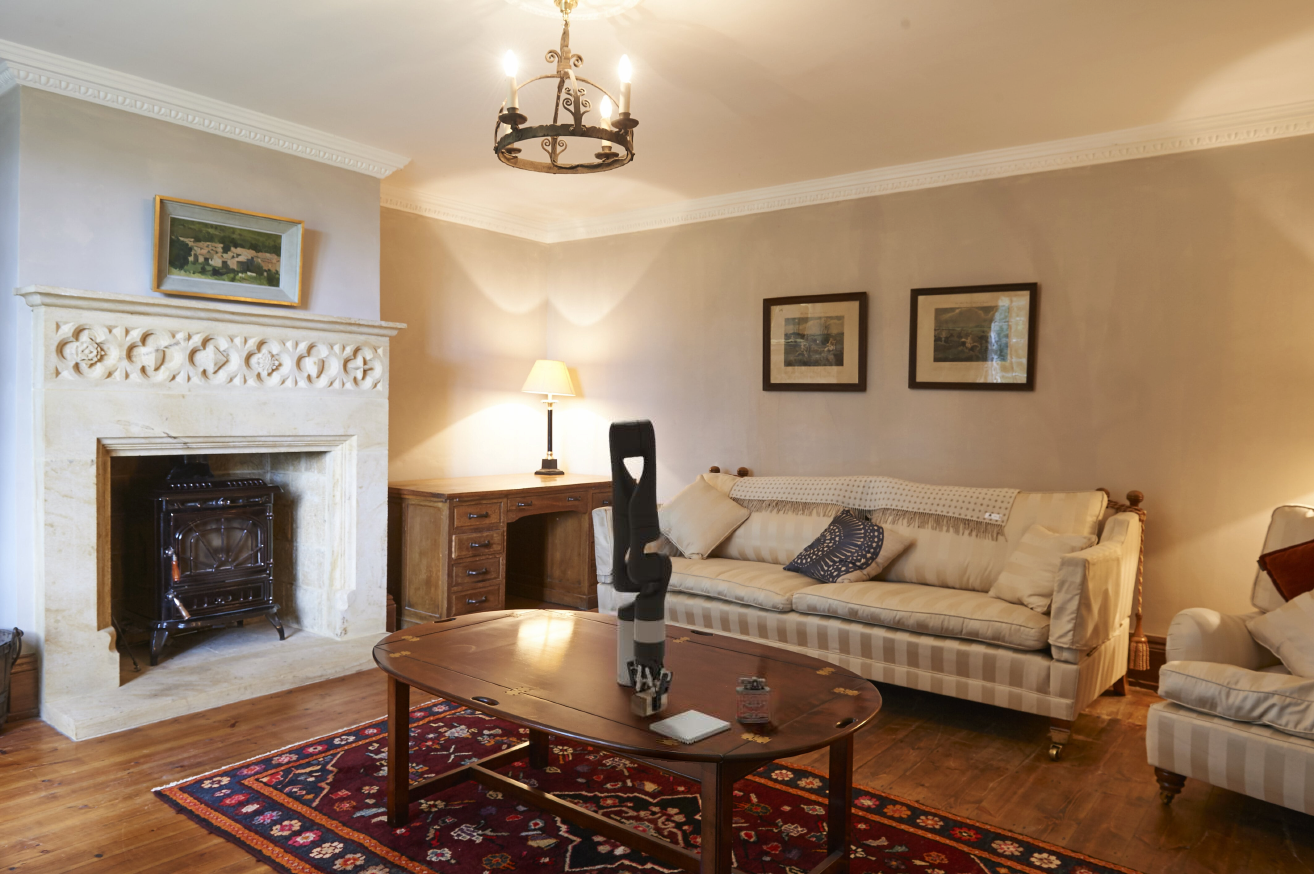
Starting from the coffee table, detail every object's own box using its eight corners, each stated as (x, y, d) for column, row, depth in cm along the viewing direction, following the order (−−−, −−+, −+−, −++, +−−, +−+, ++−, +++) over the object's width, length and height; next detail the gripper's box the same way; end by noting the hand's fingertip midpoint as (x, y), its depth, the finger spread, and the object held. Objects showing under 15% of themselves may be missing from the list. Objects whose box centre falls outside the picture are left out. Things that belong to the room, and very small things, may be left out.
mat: (692, 713, 197) (692, 709, 197) (730, 727, 188) (730, 723, 188) (649, 728, 187) (649, 724, 187) (688, 743, 178) (688, 739, 178)
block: (655, 703, 199) (655, 687, 199) (667, 708, 196) (667, 691, 196) (631, 712, 193) (631, 695, 193) (643, 716, 190) (643, 699, 190)
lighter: (768, 717, 195) (768, 675, 195) (770, 722, 192) (771, 679, 191) (734, 717, 195) (735, 675, 194) (736, 722, 191) (736, 680, 191)
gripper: (682, 639, 191) (681, 712, 192) (640, 627, 202) (639, 696, 202) (659, 646, 186) (659, 720, 187) (617, 633, 196) (617, 704, 197)
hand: (649, 707), depth 194 cm, fingers closed on block, 4 cm apart
